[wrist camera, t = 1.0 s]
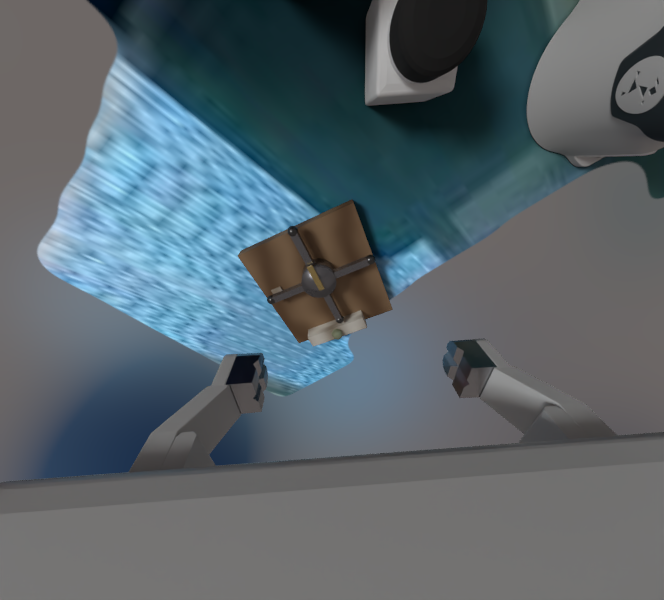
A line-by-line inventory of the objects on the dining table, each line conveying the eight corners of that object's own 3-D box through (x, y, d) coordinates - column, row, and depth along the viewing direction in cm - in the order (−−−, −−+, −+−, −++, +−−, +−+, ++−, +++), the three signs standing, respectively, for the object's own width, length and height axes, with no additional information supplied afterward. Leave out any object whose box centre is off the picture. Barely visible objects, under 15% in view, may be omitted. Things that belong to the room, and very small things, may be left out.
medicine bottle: (426, 101, 28) (485, 80, 18) (364, 106, 28) (388, 87, 18) (437, 9, 24) (520, -84, 14) (365, 14, 24) (397, -74, 14)
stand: (351, 199, 34) (356, 208, 29) (389, 303, 43) (397, 321, 39) (241, 250, 37) (230, 266, 32) (299, 335, 47) (297, 356, 42)
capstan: (351, 194, 31) (354, 199, 28) (388, 296, 40) (393, 308, 37) (238, 246, 34) (231, 256, 32) (295, 330, 43) (294, 344, 41)
